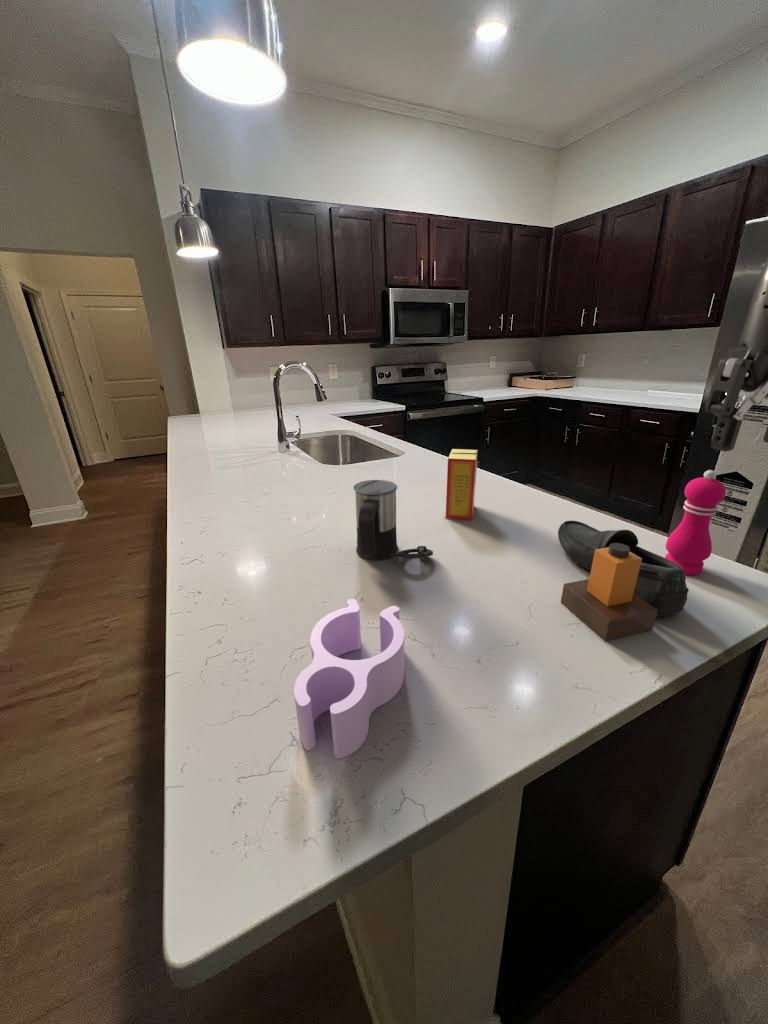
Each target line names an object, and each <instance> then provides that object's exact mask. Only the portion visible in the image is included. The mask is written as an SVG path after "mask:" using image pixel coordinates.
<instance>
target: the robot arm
mask: <svg viewBox="0 0 768 1024" xmlns="http://www.w3.org/2000/svg"><path fill="white" fill-rule="evenodd" d="M739 345H741V346H743V347H746V348H747V351H746V352H745V355H744V356H743V358H741V357H739V358H738V357H723V358H721V359H720V360H719V362H718V366H717V368H716V371H715V375H714V377H713V381H712V384H711V388H710V391H709V393H708V397H707V400H706V402H705V406H704V411H705V412H706V413H709V414H710V413H711V414H713V415H714V416H715V417H717V420H716V424H715V427H714V430H713V434H712V437H711V444H710V446H711V448H712V449H713V450H717V451H721V452H731V451H733V450H734V448H735V445H736V443H737V439H738V436H739V433H740V430H741V428H742V427H741V426H742V423H743V420H744V419H743V420H742V418H743V417H744V416H745V415H746V414H747V412H749V410H750V409H751V408H752V407H753V406H755V405H758V404H760V403H761V402H762V401H763V400H764V398H768V255H767V256H766V259H765V262H764V264H763V266H762V268H761V270H760V273H759V275H758V277H757V281H756V284H755V287H754V291H753V294H752V298H751V302H750V304H749V308H748V312H747V314H746V318H745V322H744V325H743V328H742V332H741V335H740V338H739ZM723 392H724V393H725V394H724V395H725V398H724V399H723V400H722V401H721V402H720V399H721V396H722V393H723ZM737 403H738V405H737V406H736V404H737ZM763 443H766V444H768V425H767V426H766V429H765V432H764V435H763Z"/></svg>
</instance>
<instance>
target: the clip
mask: <svg viewBox="0 0 768 1024" xmlns="http://www.w3.org/2000/svg"><path fill="white" fill-rule="evenodd" d="M346 603H347V604H346V605H347V606H346V607H342V608H339V609H336V610H334V611H332V612H330V613H328V614H326V615H324V617H322V618H321V619H319V620H318V621H317V623H316V624H315V625H314V626H313V628H312V630H311V633H310V638H309V640H310V641H309V642H310V652H311V659H312V661H311V663H310V664H309V665H307V667H305V669H303V670H302V671H301V672H300V673H299V674H298V676H297V677H296V679H295V681H294V684H293V685H294V686H293V696H294V704H295V711H296V718H297V725H298V733H299V738H300V739H299V740H300V742H301V745H302V746H303V749H305V750H306V751H311V750H313V749H314V748H315V747H316V746H317V741H316V740H317V739H316V732H315V725H314V723H315V721H316V719H317V718H318V717H320V715H322V714H323V713H325V712H327V711H329V714H330V721H331V722H330V725H331V733H332V743H333V756H334V758H335V759H338V760H340V759H343V758H346V757H348V756H350V755H352V754H353V753H355V752H357V750H359V749H360V748H361V746H363V744H364V743H365V741H366V738H367V737H368V734H369V730H370V718H371V715H372V713H373V712H374V711H375V710H376V709H377V708H379V707H381V706H382V705H384V704H386V703H388V702H390V700H392V699H393V698H394V697H395V696H396V695H397V694H398V693H399V692H400V690H401V688H402V686H403V684H404V680H405V629H404V627H403V624H402V622H401V621H400V607H399V606H398V605H391V606H389V607H387V608H385V609H383V610H382V611H381V612H380V613H379V639H380V643H379V645H380V653H378V654H376V655H374V656H371V657H368V658H364V659H346V658H341V657H340V656H342V655H343V654H346V653H348V652H353V651H358V650H361V649H362V634H361V633H362V632H361V613H360V605H359V602H358V600H357V599H356V598H351V599H350V598H349V599H347V602H346Z"/></svg>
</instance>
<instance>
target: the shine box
mask: <svg viewBox="0 0 768 1024" xmlns="http://www.w3.org/2000/svg"><path fill="white" fill-rule="evenodd" d="M588 583H589V578H587V579H581V580H577V581H572V582H567V583H563V587H562V592H561V597H560V603H561V604H562V605H563V606H564V607H565V608H566V609H567V610H569V611H570V612H571V613H572V614H573V615H574V616H576V617H577V618H578V619H579V620H580V621H581V622H582V623H584V624H585V625H586V626H587V627H588V628H589V629H590V630H592V631H593V632H594V633H595V634H596V635H597V636H598V637H599V638H600V639H602V640H603V641H604V642H607V641H612V640H615V639H620V638H623V637H624V638H625V637H628V636H633V635H637V634H640V633H645V632H649V631H653V629H654V626H655V622H656V620H657V616H656V615H657V612H658V610H657V609H656V608H654V607H653V606H651V605H650V604H648V603H647V602H645V601H644V600H642V599H641V598H640V597H638V596H637V595H635V594H634V593H633V596H632V600H631V602H626V603H621V604H617V605H612V606H606V605H605V604H603V603H602V602H601V601H600V600H598V599H597V598H596V597H594V596H593V595H592V594H591V593H589V592H588V591H587V588H588Z"/></svg>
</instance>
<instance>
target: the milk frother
mask: <svg viewBox="0 0 768 1024" xmlns="http://www.w3.org/2000/svg"><path fill="white" fill-rule="evenodd" d="M353 490H354V495H355V521H356V548H355V550H356V553H357V554H358V555H359V556H360V557H362V558H365V559H370V560H384V559H389V558H391V557H396V558H401V559H427V558H428V557H431V556H433V555H434V551H433V550H432V549H429V548H427V546H426V545H418V546H417V547H416V548H408V549H404V550H401V551H399V546H398V540H397V538H398V537H397V536H398V535H397V490H398V485H397V484H396V483H395V482H393V481H390V480H387V479H386V480H385V479H369V480H363V481H359V482H357V483H355V484H354V485H353Z"/></svg>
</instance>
